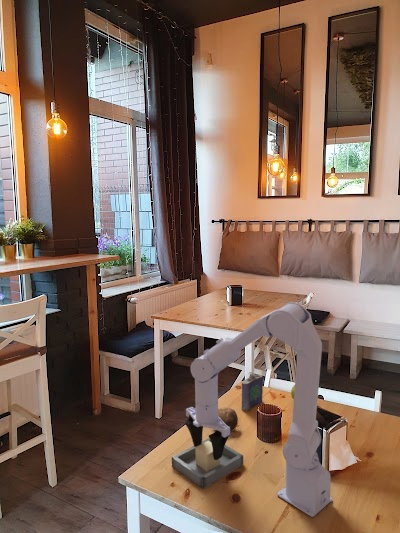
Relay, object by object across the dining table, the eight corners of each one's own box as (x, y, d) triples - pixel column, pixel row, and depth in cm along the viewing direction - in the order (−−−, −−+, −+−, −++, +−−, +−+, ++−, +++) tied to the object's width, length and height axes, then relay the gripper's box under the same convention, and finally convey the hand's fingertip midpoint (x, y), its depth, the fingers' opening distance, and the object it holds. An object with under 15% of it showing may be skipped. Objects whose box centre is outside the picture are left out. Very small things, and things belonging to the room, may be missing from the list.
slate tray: (243, 464, 104) (243, 455, 103) (202, 489, 94) (202, 479, 94) (211, 445, 113) (211, 436, 112) (171, 466, 103) (171, 456, 103)
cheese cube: (220, 464, 103) (220, 447, 102) (207, 471, 100) (207, 454, 100) (208, 456, 106) (208, 440, 106) (195, 463, 103) (195, 447, 103)
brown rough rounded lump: (223, 407, 128) (223, 398, 123) (243, 423, 123) (243, 414, 119) (206, 426, 124) (205, 416, 120) (226, 443, 120) (225, 434, 115)
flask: (246, 412, 131) (246, 378, 130) (238, 409, 133) (238, 376, 132) (264, 402, 138) (264, 370, 136) (257, 399, 140) (257, 367, 139)
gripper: (176, 396, 104) (177, 445, 106) (214, 417, 93) (215, 471, 95) (197, 388, 109) (197, 435, 110) (235, 407, 98) (236, 459, 100)
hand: (207, 451), depth 103 cm, fingers open, 7 cm apart
